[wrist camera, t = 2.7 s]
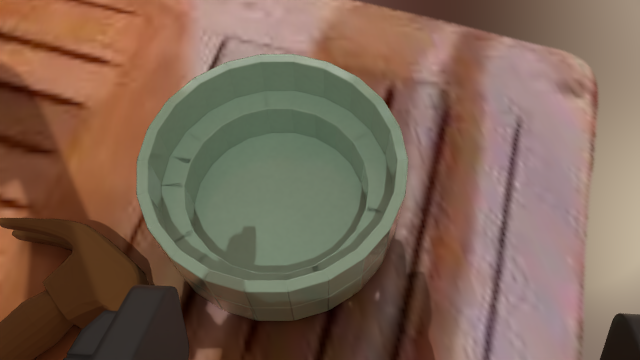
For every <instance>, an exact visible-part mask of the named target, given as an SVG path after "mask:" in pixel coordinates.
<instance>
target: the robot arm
mask: <svg viewBox="0 0 640 360" xmlns="http://www.w3.org/2000/svg"><path fill="white" fill-rule="evenodd" d="M188 357H189V343H188V338H187V333H186V328H185V324H184V319H183V314H182V310H181V305H180V300H179V296H178V292H177V290H176V288H175V287H172V286H154V285H134V286H133V287H132V288H131V289H130V290H129V292H128V294H127V295H126V297H125V299H124V300H123V302H122V304H121V306H120V307H119V309H118V311H108V310H105V311H103V312H102V313H101V314H100V315H99V316H98V317H96V318H95V319H94V320H93V321H92V322H90V323H89V324H88V325H87V326H86V327H85V328H83V329H82V330H81V332H80V334H79V335H78V337H77V338H76V340H75V342H74V343H73V345H72V346H71V348H70V349H69V351H68V353H67V358H64V359H63V360H188ZM600 360H640V315H638V314H617V315H616V316H615V317H614V319H613V321H612V324H611V327H610V330H609V333H608V336H607V339H606V342H605V345H604V348H603V352H602V355H601V358H600Z"/></svg>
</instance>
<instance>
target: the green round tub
mask: <svg viewBox="0 0 640 360" xmlns="http://www.w3.org/2000/svg"><path fill="white" fill-rule="evenodd" d="M407 170H408V157H407V153H406V149H405V145H404V141H403V137H402V132H401V129H400V126H399V125H398V123H397V121H396V120H395V118H394V117H393V115H392V113H391V112H390V110H389V108H388V107H387V105H386V104H385V102H384V100H383V99H382V98H381V97H380V96H379V95H377V94H376V93H375V92H374V91H373V90H372V89H371V88H370V87H369V86H367V85H366V84H365V83H364V82H363V81H362V80H361V79H360V78H358V77H357V76H355V75H353V74H351V73H349V72H347V71H345V70H343V69H341V68H339V67H337V66H335V65H333V64H331V63H329V62H326V61H322V60H317V59H313V58H309V57H304V56H300V55H294V54H260V55H255V56H251V57H247V58H242V59H238V60H234V61H229V62H226V63H223V64H221V65H219V66H217V67H215V68H213V69H211V70H209V71H207V72H205V73H203V74H201V75H199V76H197V77H195V79H192V80H191V81H190V82H189V83H187V84H186V85H185V86H184V87H183V88H181V89H180V90H179V91H178V92H177V93H175V94H174V95H173V96H172V97H171V98H170V99H168V101H167V102H166V103H165V104H164V106H163V107H162V109H161V110H160V112H159V113H158V114H157V116H156V117H155V119H154V120H153V122H152V123H151V124H150V126H149V127H148V129H147V132H146V135H145V138H144V141H143V144H142V147H141V150H140V153H139V156H138V159H137V194H136V195H137V199H138V201H139V204H140V207H141V210H142V213H143V216H144V219H145V222H146V225H147V228H148V229H149V231H150V233H151V234H152V235H153V237H154V238H155V240H156V241H157V242H158V244H159V245H160V246H161V248H162V249H163V251H164V252H165V253H166V255H167V256H168V257H169V259H170V260H171V261H172V263H173V264H174V266H175V267H176V268H177V269H178V271H179V272H180V273H181V275H182V276H183V277H184V278H185V280H186V281H187V282H188V284H189V285H190V286H191V287H192V289H193V290H194V291H195V292H196V293H198V294H199V295H201V296H202V297H204V298H205V299H207V300H208V301H210V302H211V303H213V304H214V305H216V306H217V307H219V308H220V309H222V310H224V311H227V312H230V313H233V314H237V315H240V316H243V317H247V318H250V319H253V320H258V321H293V320H298V319H301V318H305V317H308V316H312V315H315V314H318V313H322V312H325V311H328V310H330V309H332V308H334V307H335V306H337V305H338V304H340V303H341V302H343V301H345V300H346V299H348V298H349V297H351V296H352V295H354V294H355V293H357V292H358V291H359V290H360V289H361V288H362V287H363V286H364V285H365V284H366V282H367V281H368V280H369V279H370V278H371V277H372V275H373V274H374V273H375V272H376V271H377V270H378V268H379V267H380V266H381V264H382V262H383V260H384V258H385V255H386V253H387V251H388V248H389V246H390V244H391V241H392V239H393V237H394V233H395V229H396V226H397V222H398V219H399V215H400V212H401V208H402V204H403V201H404V197H405V193H406V182H407Z"/></svg>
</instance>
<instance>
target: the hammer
mask: <svg viewBox="0 0 640 360" xmlns="http://www.w3.org/2000/svg"><path fill="white" fill-rule="evenodd" d="M0 226H2V227H4V228H7V229H13V230H14V231H13V232H12V235H13V236H14V237H16V238H17V239H19V240H24V241H30V242H39V243H45V244H50V245H55V246H59V247H62V248H65V249H69V250H71V251H72V254H71V255H70V256H69V257H68V258H67V259H66V260H65V261H64V262H63V263H62V264H61V265H60V266H59V267H58V268H57V269H56V270H55V271H54V272H53V273H52V274H51V275H50V276H48V277H47V278H46V279H45V280H44V281H43V284H44V286H45V288H46V291H44V292H42V293H40V294H38V295H36V296H34V297H32V298H30V299H28V300H26V301H24V302H22V303H21V304H20V305H19V306H18V307H17V308H16V309H15V310H13V311H12V312H11V313H10V314H9V315H8V316H7V317H6V318H5V319H4V320H2V321H1V322H0V360H33V359H34V358H36V357H37V356H39V355H40V354H42V353H43V352H45V351H46V350H48V349H49V348H51V347H52V346H54V345H55V344H57V343H58V342H59V341H60V339H61V338H62V337H63V336H64V335H65V334H66V333H67V331H68V330H69V329H70V328H71V327H72V326H73V325H74V324H75V325H77V326H78V327H80V328H81V329H83V328H85V327H86V326H87V325H88V324H89V323H90V322H92V321H93V320H94V319H95V318H96V317H98V316H99V315H100V314H101V313H102V312H103V311H105V310H108V311H118V309H119V307H120V306H121V304H122V302H123V300H124V299H125V297H126V295H127V294H128V292H129V290H130V289H131V288H132V287H133V286H134V285H148V282H147V279H146V276H145V274H144V272H143V271H142V270H141V269H140V268H139V267H138V266H137V265H136V264H135V263H134V262H133V261H132V260H131V259H130V258H129V257H128V256H126V255H125V254H124V253H123V252H122V251H121V250H120V249H119V248H117V247H116V246H115V245H114V244H113V243H112V242H111V241H110V240H108V239H107V238H105V237H104V236H103V235H101V234H100V233H98V232H97V231H96V230H94V229H93V228H91V227H90V226H88V225H85V224H82V223H78V222H74V221H69V220H61V219H32V218H0Z"/></svg>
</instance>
